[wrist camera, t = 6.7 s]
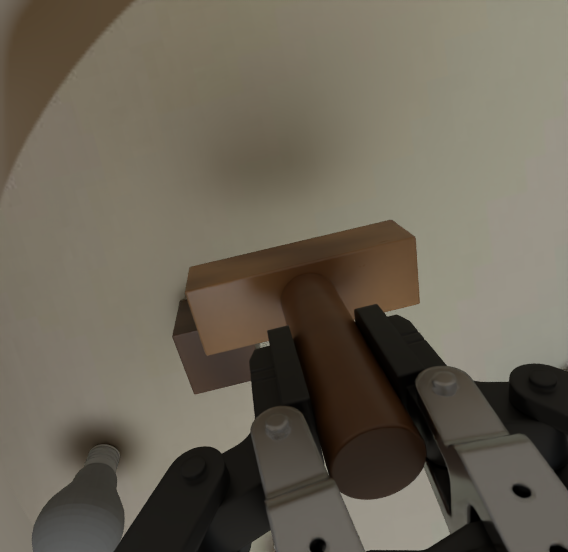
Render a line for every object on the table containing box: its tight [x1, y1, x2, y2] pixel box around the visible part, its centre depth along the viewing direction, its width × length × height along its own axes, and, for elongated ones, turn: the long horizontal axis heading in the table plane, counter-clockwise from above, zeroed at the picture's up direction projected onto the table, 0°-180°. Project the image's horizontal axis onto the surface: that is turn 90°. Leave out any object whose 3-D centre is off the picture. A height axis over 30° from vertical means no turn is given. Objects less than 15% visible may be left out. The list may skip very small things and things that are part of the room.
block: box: [172, 299, 260, 394], centre depth 30 cm, size 5×5×5 cm
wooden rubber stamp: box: [185, 220, 427, 500], centre depth 14 cm, size 9×3×10 cm, turn 101°
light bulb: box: [32, 444, 124, 552], centre depth 32 cm, size 6×6×10 cm
